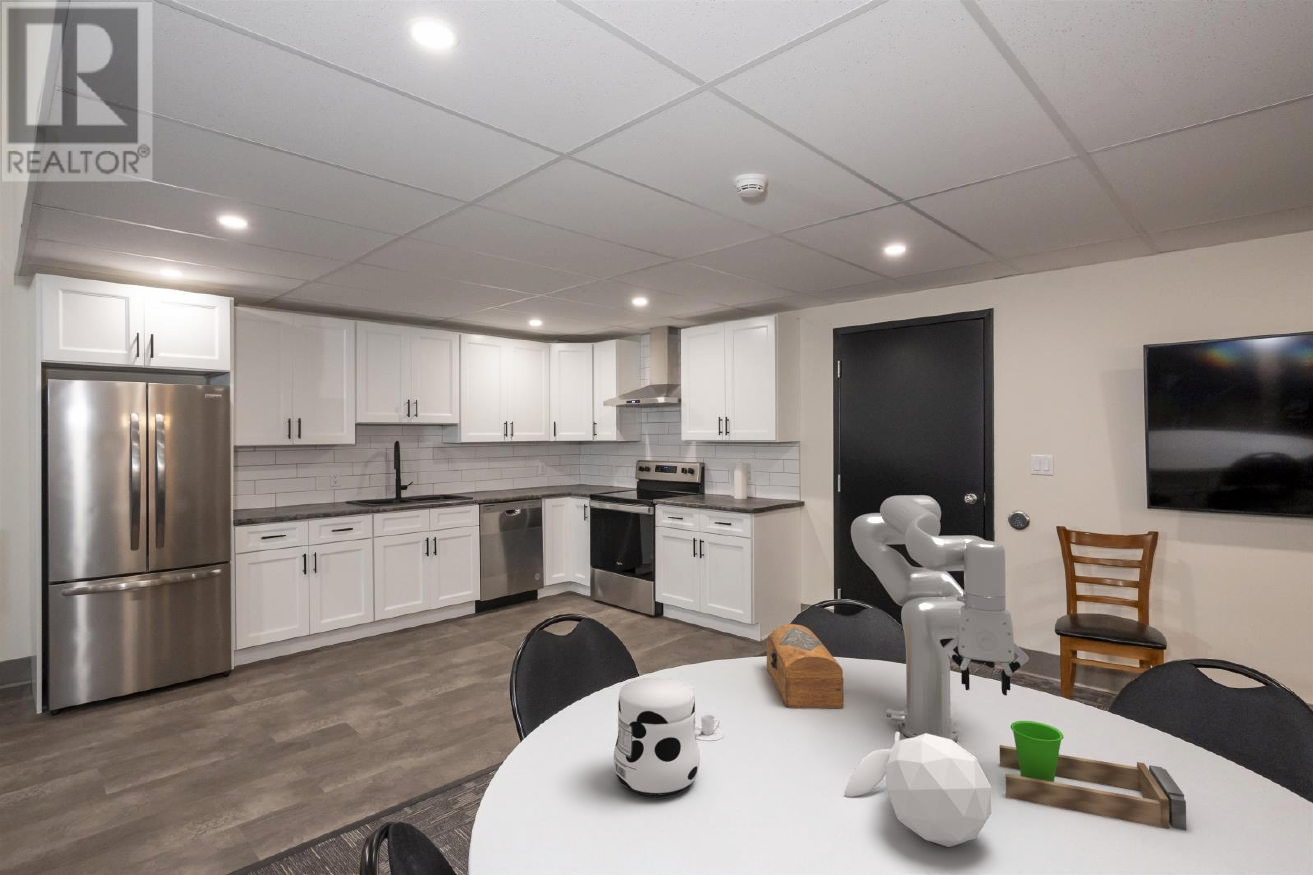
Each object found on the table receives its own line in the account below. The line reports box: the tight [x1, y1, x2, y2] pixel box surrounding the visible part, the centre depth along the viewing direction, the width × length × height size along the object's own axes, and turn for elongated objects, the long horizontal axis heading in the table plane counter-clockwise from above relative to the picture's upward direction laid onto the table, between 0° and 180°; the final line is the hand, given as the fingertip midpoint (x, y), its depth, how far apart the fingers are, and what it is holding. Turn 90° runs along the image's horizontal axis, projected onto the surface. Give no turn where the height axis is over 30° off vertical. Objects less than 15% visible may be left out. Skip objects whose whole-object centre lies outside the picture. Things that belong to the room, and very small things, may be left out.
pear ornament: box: [844, 731, 992, 848], centre depth 116 cm, size 16×22×28 cm
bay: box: [999, 744, 1187, 831], centre depth 124 cm, size 28×14×5 cm, turn 67°
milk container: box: [613, 677, 701, 796], centre depth 130 cm, size 17×17×18 cm
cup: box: [1010, 720, 1065, 782], centre depth 127 cm, size 9×9×11 cm
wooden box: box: [766, 623, 845, 709], centre depth 180 cm, size 30×16×14 cm, turn 179°
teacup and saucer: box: [695, 714, 726, 742], centre depth 151 cm, size 9×8×4 cm
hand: (985, 689), depth 131 cm, fingers open, 6 cm apart
